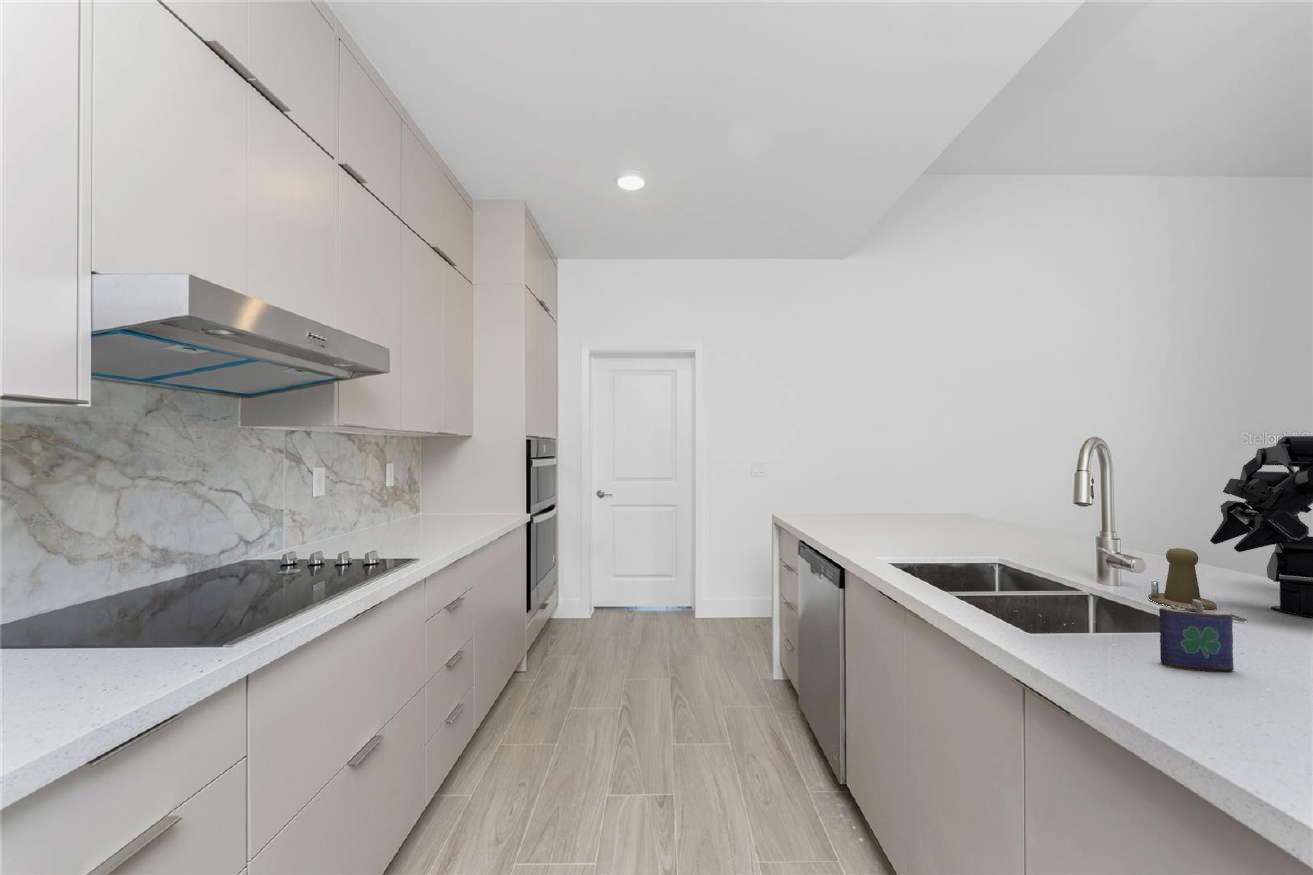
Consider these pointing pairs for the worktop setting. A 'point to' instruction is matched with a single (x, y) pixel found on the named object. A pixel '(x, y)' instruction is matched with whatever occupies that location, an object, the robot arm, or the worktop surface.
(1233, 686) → the worktop surface
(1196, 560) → the cork
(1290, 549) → the robot arm
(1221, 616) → the flask
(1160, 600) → the walnut plate
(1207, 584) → the worktop surface
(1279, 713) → the worktop surface
